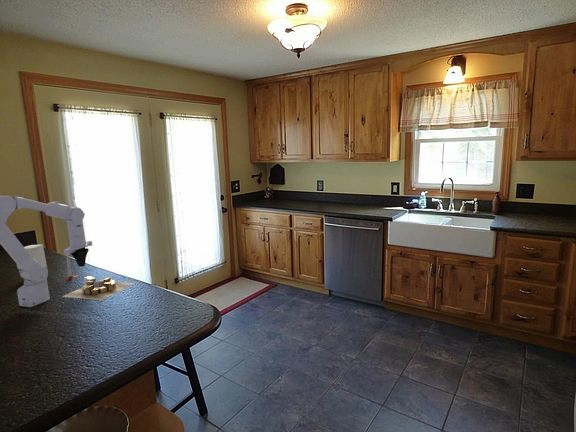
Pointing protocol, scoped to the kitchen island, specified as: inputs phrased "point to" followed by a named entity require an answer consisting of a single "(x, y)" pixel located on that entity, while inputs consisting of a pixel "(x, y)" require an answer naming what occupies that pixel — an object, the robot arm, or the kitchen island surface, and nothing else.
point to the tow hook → (69, 270)
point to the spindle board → (99, 296)
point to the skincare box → (37, 254)
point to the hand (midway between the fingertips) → (81, 266)
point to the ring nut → (90, 288)
